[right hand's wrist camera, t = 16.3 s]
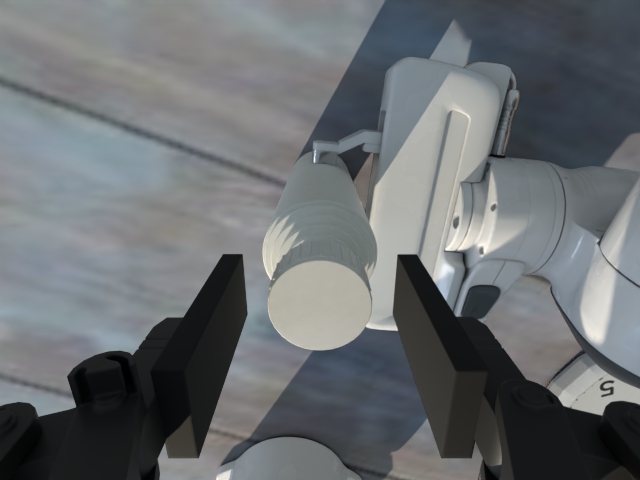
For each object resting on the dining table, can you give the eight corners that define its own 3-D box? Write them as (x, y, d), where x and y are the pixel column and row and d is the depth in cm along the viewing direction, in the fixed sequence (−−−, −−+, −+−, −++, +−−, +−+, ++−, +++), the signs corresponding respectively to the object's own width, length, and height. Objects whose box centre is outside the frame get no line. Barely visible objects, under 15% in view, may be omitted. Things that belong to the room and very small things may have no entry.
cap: (253, 286, 15) (244, 311, 13) (315, 218, 14) (314, 236, 12) (323, 338, 16) (323, 368, 14) (387, 279, 15) (396, 303, 13)
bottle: (328, 137, 32) (341, 200, 12) (360, 187, 34) (420, 317, 14) (278, 172, 33) (214, 282, 13) (312, 219, 35) (301, 382, 15)
